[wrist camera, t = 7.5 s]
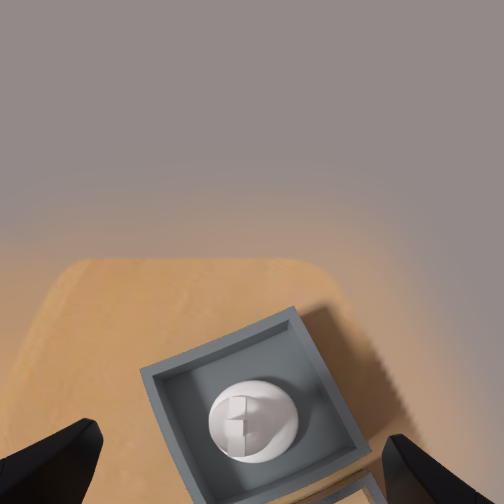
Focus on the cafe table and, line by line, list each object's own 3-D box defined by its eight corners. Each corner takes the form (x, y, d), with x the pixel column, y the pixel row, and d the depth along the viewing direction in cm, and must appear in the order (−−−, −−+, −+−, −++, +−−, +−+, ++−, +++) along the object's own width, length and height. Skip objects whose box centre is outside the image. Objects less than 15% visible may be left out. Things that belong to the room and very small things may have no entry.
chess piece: (298, 379, 16) (332, 332, 8) (298, 462, 14) (334, 513, 5) (211, 378, 16) (147, 330, 8) (208, 460, 14) (136, 501, 5)
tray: (358, 448, 14) (371, 451, 12) (212, 509, 13) (204, 521, 10) (290, 319, 19) (293, 305, 17) (154, 376, 17) (139, 369, 15)
